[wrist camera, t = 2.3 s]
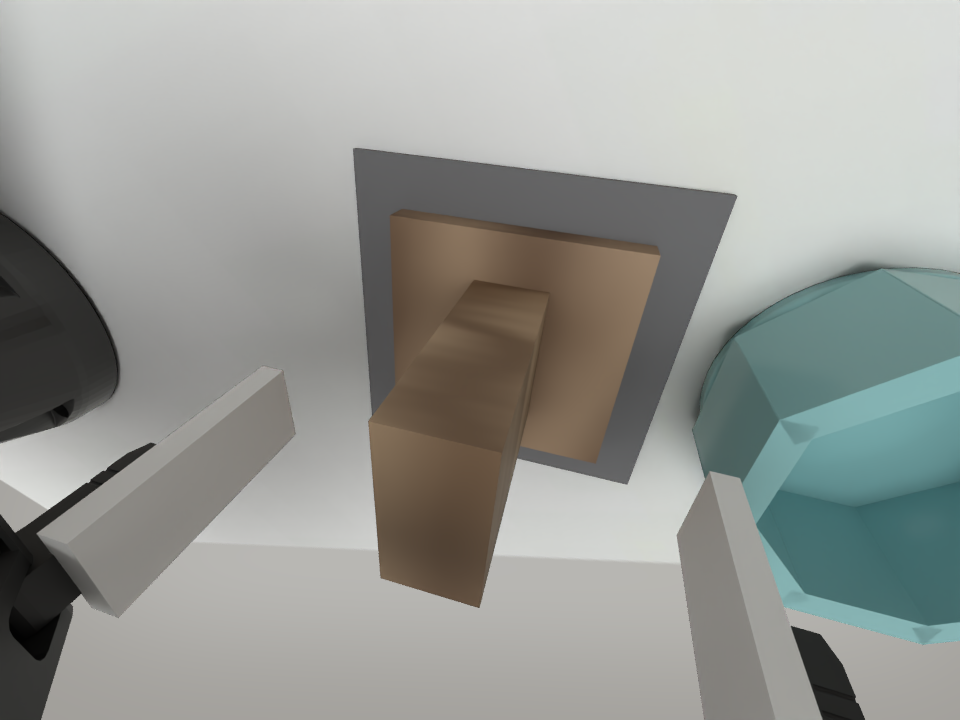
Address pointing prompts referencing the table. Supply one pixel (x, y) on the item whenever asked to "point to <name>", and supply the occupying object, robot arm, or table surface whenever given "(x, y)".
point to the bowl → (850, 447)
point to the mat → (563, 208)
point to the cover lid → (491, 380)
